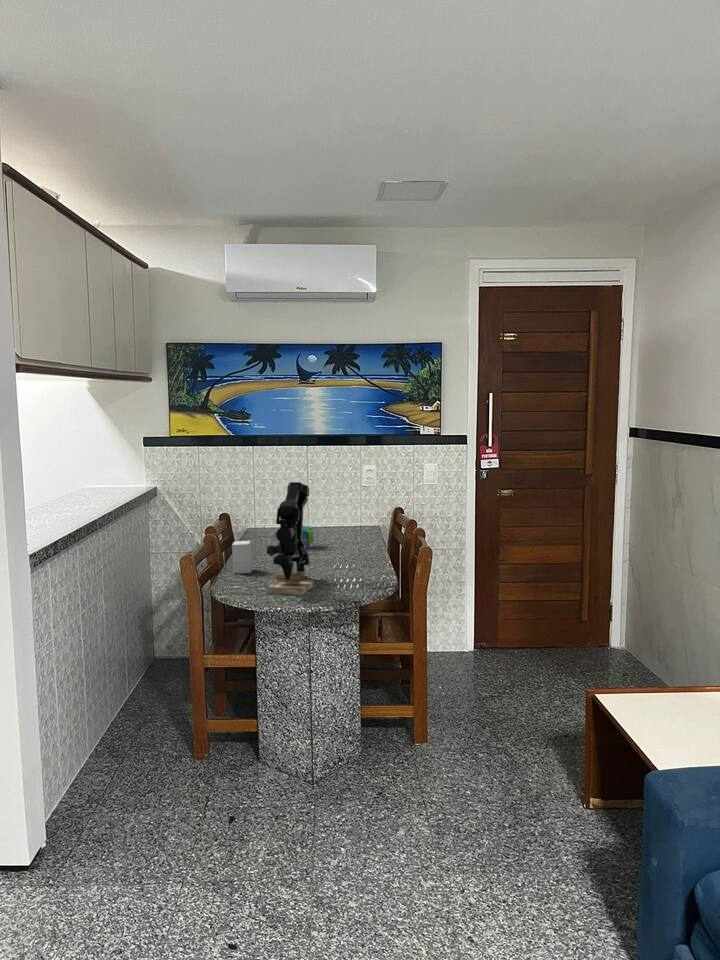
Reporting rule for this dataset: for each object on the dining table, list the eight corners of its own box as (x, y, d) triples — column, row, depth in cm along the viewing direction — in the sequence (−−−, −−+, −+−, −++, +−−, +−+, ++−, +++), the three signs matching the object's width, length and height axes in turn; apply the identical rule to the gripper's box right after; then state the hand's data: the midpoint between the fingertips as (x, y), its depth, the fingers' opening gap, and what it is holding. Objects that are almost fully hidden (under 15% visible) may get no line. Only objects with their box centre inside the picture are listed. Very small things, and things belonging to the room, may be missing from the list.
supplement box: (252, 569, 308) (251, 540, 306) (250, 573, 300) (249, 543, 299) (235, 569, 307) (234, 540, 306) (233, 573, 300) (231, 544, 299)
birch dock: (281, 583, 282) (280, 578, 282) (314, 585, 278) (314, 580, 278) (266, 593, 269) (266, 587, 268) (301, 595, 265) (301, 589, 264)
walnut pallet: (282, 578, 277) (282, 570, 277) (304, 579, 274) (304, 571, 274) (276, 582, 272) (276, 574, 271) (299, 583, 269) (298, 575, 269)
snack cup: (283, 547, 351) (282, 527, 350) (301, 544, 358) (300, 524, 356) (301, 552, 339) (301, 531, 338) (319, 548, 346) (319, 528, 344)
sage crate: (286, 571, 275) (286, 561, 274) (296, 571, 274) (296, 561, 274) (283, 574, 271) (283, 563, 271) (293, 574, 270) (293, 564, 270)
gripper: (278, 532, 282) (280, 570, 284) (259, 541, 264) (261, 582, 266) (305, 532, 279) (306, 571, 281) (287, 542, 261) (289, 584, 263)
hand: (290, 577), depth 273 cm, fingers closed on walnut pallet, 6 cm apart
